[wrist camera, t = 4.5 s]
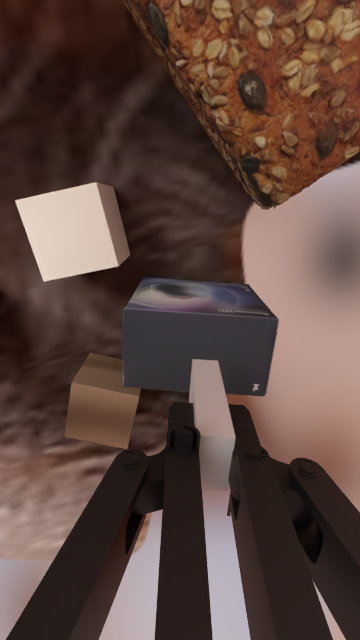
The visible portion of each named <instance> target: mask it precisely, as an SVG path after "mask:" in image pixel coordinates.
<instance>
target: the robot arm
mask: <svg viewBox="0 0 360 640" xmlns="http://www.w3.org/2000/svg"><path fill="white" fill-rule="evenodd" d="M229 484H230V490H231V492H230V498H229V505H228V512H227V516H230V512H231V516H232V522H233V528H234V535H235V541H236V548H237V554H238V560H239V567H240V573H241V580H242V586H243V593H244V599H245V606H246V612H247V618H248V625H249V631H250V638H251V640H333V638H332V636H331V633H330V630H329V627H328V624H327V621H326V618H325V615H324V612H323V610H322V607H321V604H320V601H319V598H318V595H317V593H316V589H315V586H314V584H313V581H314V583H315V585H316V587H317V588H318V590H319V592H320V594H321V596H322V597H323V599H324V601H325V603H326V605H327V606H328V608H329V610H330V612H331V613H332V615H333V617H334V619H335V621H336V622H337V624H338V626H339V628H340V630H341V631H342V633H343V635H344V637H345V639H346V640H360V513H359V511H358V510H357V509H356V508H355V506H354V505H353V504H352V503H351V502H350V501H349V499H348V498H347V497H346V496H345V494H344V493H343V492H342V491H341V490H340V489H339V487H338V486H337V485H336V484H335V483H334V481H333V480H332V479H331V478H330V476H329V475H328V474H327V473H326V472H325V470H324V469H323V468H322V467H321V466H320V465H318V464H317V463H316V462H314V461H312V460H310V459H306V458H296V459H294V460H293V461H292V462H291V463H290V465H289V464H286V463H282V462H279V461H276V460H274V459H272V458H271V457H270V456H269V454H268V452H267V451H266V450H265V449H264V448H263V447H261V445H260V442H259V439H258V436H257V433H256V430H255V427H254V424H253V421H252V418H251V415H250V412H249V411H248V409H247V408H246V407H245V406H244V405H231V404H228V402H227V398H226V394H225V389H224V385H223V381H222V376H221V372H220V368H219V363H218V361H215V360H198V359H192V370H191V382H190V394H189V403H184V402H173V404H172V405H171V406H170V407H169V419H168V433H167V444H166V447H165V448H164V450H162V451H161V452H160V453H158V454H155V455H152V456H147V455H146V454H145V453H144V452H142V451H139V450H134V449H130V450H125V451H123V452H121V453H119V454H118V455H117V457H116V458H115V459H114V461H113V462H112V464H111V466H110V467H109V469H108V471H107V472H106V474H105V476H104V477H103V479H102V481H101V482H100V484H99V486H98V487H97V489H96V491H95V492H94V494H93V496H92V497H91V499H90V501H89V502H88V504H87V506H86V507H85V509H84V511H83V512H82V514H81V516H80V517H79V519H78V521H77V522H76V524H75V526H74V527H73V529H72V531H71V532H70V534H69V536H68V537H67V539H66V541H65V542H64V544H63V546H62V547H61V549H60V551H59V552H58V554H57V556H56V557H55V559H54V561H53V562H52V564H51V566H50V567H49V569H48V571H47V572H46V574H45V576H44V577H43V579H42V581H41V583H40V584H39V586H38V587H37V589H36V591H35V592H34V594H33V596H32V597H31V599H30V601H29V602H28V604H27V606H26V607H25V609H24V611H23V612H22V614H21V616H20V617H19V619H18V621H17V622H16V624H15V626H14V627H13V629H12V630H11V632H10V634H9V635H8V637H7V639H6V640H99V637H100V635H101V632H102V629H103V627H104V624H105V622H106V619H107V616H108V614H109V611H110V609H111V606H112V603H113V601H114V598H115V596H116V593H117V590H118V588H119V585H120V582H121V580H122V577H123V575H124V572H125V570H126V567H127V564H128V562H129V559H130V557H131V554H132V551H133V549H134V546H135V544H136V541H137V538H138V536H139V533H140V531H141V528H142V525H143V523H144V520H145V518H146V514H147V513H150V512H154V511H157V510H161V509H163V514H162V530H161V546H160V563H159V579H158V596H157V611H156V627H155V640H212V626H211V612H210V599H209V584H208V571H207V556H206V543H205V528H204V514H203V502H202V489H208V490H228V485H229ZM312 580H313V581H312Z"/></svg>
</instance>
